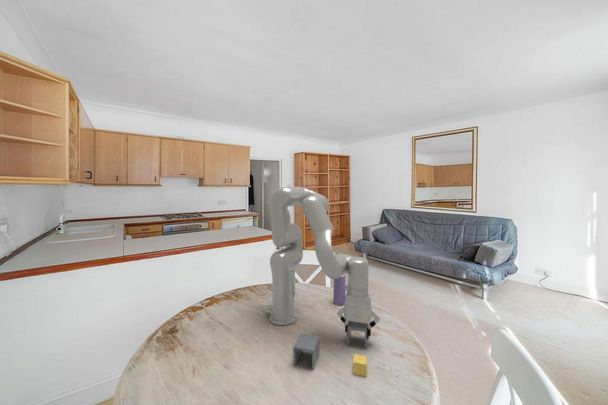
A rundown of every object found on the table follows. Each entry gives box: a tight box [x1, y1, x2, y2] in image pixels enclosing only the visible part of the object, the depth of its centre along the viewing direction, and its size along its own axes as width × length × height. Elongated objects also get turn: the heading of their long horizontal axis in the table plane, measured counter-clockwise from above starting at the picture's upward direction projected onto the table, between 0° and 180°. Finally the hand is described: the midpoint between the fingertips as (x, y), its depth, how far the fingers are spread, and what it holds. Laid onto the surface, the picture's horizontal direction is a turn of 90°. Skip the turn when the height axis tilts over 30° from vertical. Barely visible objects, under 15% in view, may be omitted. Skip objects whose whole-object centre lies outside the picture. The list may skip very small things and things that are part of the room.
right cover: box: [346, 321, 368, 349], centre depth 95 cm, size 7×8×6 cm
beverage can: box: [332, 273, 346, 306], centre depth 127 cm, size 6×6×15 cm
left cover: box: [292, 332, 320, 371], centre depth 86 cm, size 7×8×6 cm
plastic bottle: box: [291, 266, 296, 295], centre depth 137 cm, size 6×7×20 cm
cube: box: [352, 353, 368, 377], centre depth 80 cm, size 4×4×4 cm
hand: (357, 335), depth 95 cm, fingers closed on right cover, 6 cm apart
